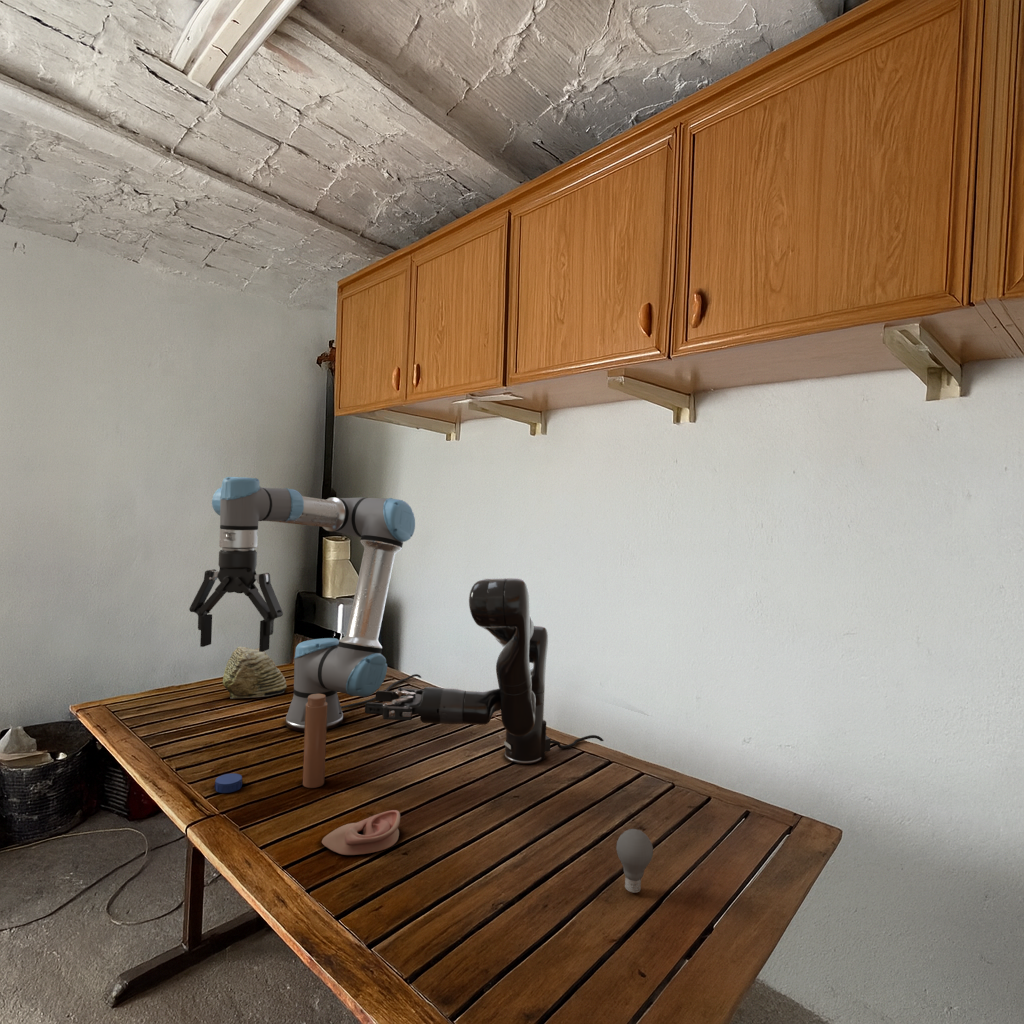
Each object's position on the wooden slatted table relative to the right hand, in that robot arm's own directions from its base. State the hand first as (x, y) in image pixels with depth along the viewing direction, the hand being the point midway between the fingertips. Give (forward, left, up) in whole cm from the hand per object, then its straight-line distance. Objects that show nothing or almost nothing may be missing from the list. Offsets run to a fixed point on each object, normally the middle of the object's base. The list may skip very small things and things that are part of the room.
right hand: (370, 701), depth 139 cm
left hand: (+28, -8, +11) cm, 31 cm away
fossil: (+23, -73, -19) cm, 79 cm away
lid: (+28, -8, -17) cm, 34 cm away
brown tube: (+11, -5, -19) cm, 22 cm away
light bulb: (-35, +51, -19) cm, 65 cm away
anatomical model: (+5, +22, -19) cm, 29 cm away
